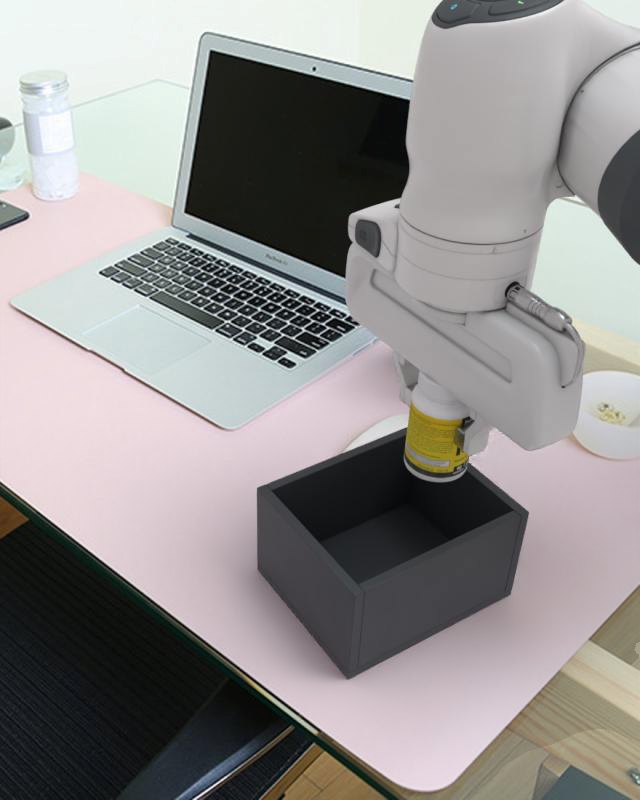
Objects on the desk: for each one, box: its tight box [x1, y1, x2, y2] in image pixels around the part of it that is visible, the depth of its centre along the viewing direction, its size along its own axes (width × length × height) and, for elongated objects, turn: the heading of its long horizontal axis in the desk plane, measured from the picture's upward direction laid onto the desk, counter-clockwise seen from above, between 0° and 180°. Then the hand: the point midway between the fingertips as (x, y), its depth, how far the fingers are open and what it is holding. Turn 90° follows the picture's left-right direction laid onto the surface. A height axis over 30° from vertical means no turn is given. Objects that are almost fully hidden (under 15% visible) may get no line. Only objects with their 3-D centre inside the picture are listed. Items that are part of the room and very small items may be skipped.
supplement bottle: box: [404, 370, 473, 482], centre depth 69 cm, size 5×5×8 cm
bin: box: [256, 426, 530, 680], centre depth 73 cm, size 16×13×9 cm
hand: (440, 425), depth 69 cm, fingers closed on supplement bottle, 5 cm apart
